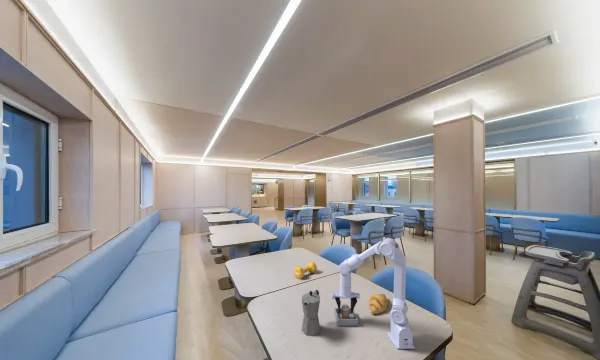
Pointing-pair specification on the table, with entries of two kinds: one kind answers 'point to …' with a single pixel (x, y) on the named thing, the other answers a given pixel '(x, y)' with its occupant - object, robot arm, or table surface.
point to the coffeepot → (311, 313)
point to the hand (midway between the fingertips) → (345, 311)
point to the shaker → (345, 311)
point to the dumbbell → (305, 270)
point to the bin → (346, 322)
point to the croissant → (378, 303)
